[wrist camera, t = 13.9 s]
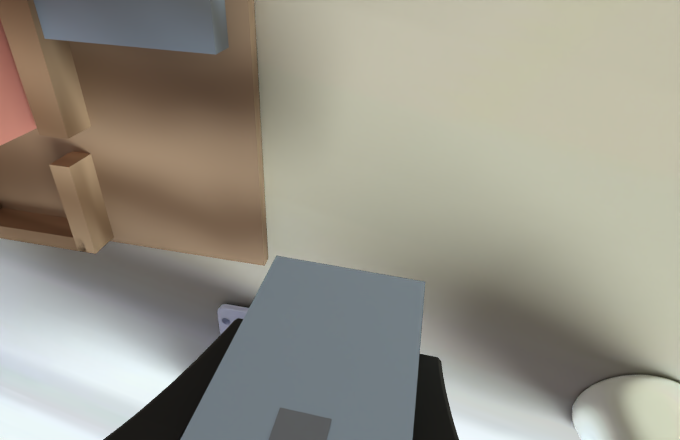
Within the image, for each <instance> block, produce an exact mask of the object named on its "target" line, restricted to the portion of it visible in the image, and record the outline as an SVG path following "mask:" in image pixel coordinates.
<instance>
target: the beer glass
mask: <svg viewBox="0 0 680 440" xmlns="http://www.w3.org/2000/svg"><path fill="white" fill-rule="evenodd" d="M572 421H573V424H574V427H575V429H576V431H577V434H578V436H579V438H580V440H680V383H678V382H676V381H673V380H670V379H667V378H663V377H659V376H653V375H624V376H617V377H613V378H609V379H606V380H603V381H600V382H598V383H596V384H594V385H592V386H590V387H589V388H587V389H586V390H584V391H583V392H582V393H581V394H580V395H579V396H578V397H577V399H576V400H575V402H574V404H573V407H572Z"/></svg>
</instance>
